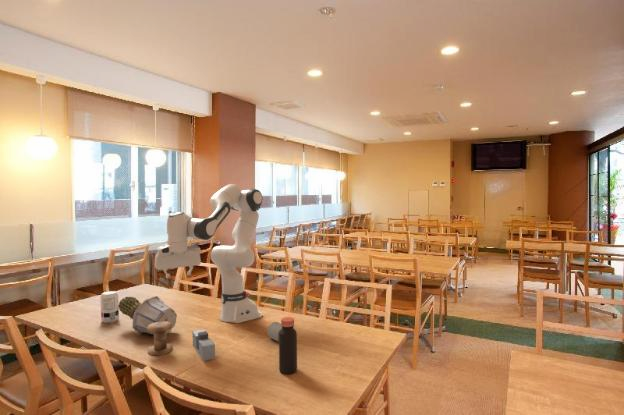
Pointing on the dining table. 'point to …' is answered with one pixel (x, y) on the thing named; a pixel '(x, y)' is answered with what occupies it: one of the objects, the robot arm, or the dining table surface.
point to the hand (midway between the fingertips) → (178, 276)
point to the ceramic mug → (274, 330)
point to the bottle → (287, 346)
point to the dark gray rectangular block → (202, 336)
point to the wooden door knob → (160, 338)
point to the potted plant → (147, 313)
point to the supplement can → (109, 307)
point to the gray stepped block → (204, 346)
